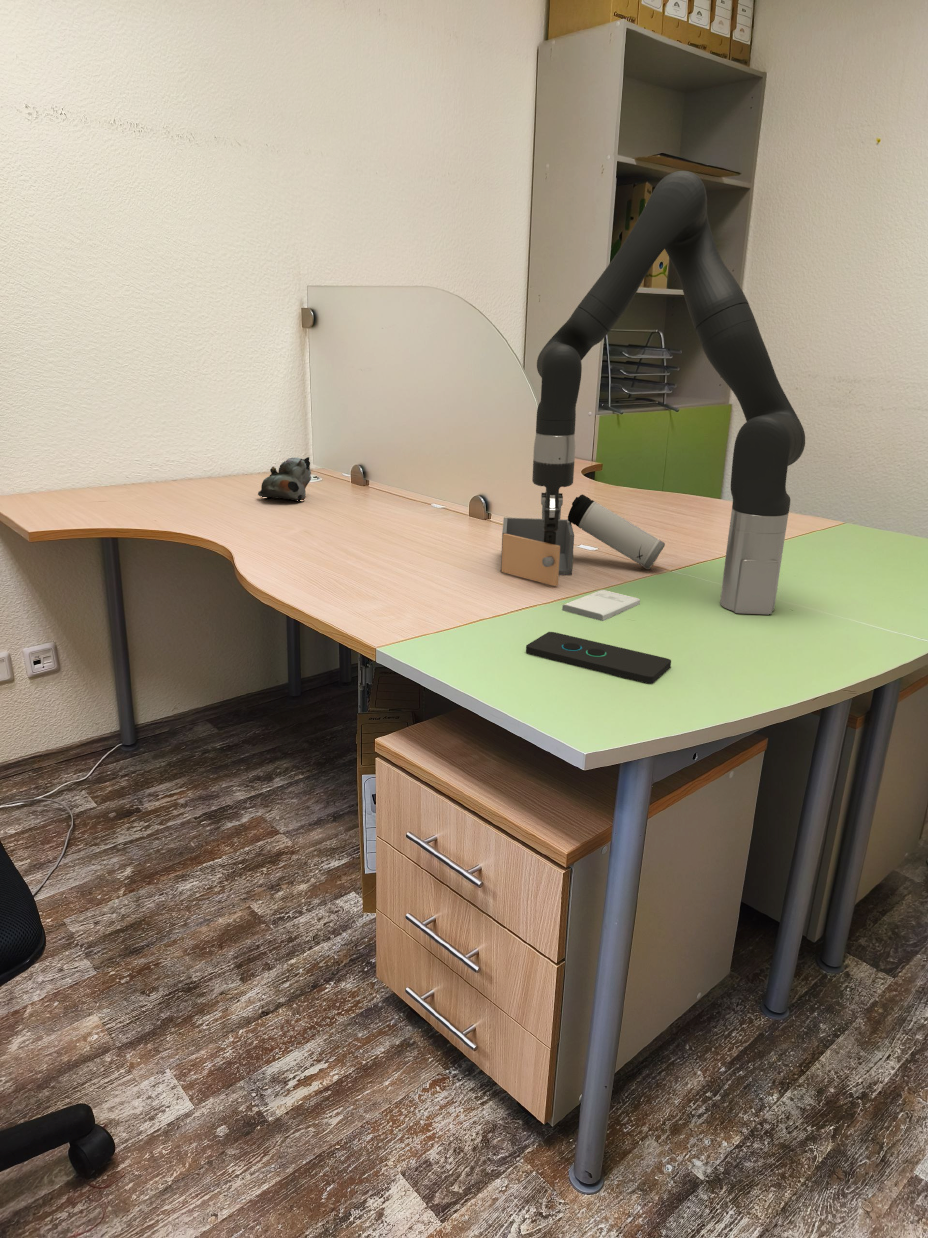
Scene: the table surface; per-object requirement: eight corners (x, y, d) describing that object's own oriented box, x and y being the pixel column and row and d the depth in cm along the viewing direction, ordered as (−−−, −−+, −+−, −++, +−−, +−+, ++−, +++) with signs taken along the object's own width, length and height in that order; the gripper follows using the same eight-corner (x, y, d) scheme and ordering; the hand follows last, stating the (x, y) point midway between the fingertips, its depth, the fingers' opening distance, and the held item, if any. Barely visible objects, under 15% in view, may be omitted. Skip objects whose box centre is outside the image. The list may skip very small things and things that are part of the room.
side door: (550, 587, 155) (553, 547, 152) (496, 573, 163) (498, 535, 161) (557, 585, 156) (560, 545, 154) (504, 570, 165) (505, 533, 162)
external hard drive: (561, 612, 144) (600, 596, 153) (602, 623, 139) (639, 606, 148) (562, 603, 143) (600, 588, 152) (603, 614, 138) (640, 597, 147)
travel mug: (651, 563, 164) (566, 511, 168) (646, 573, 170) (563, 523, 174) (668, 538, 165) (582, 487, 169) (662, 549, 172) (580, 500, 175)
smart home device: (549, 629, 131) (673, 658, 120) (549, 640, 131) (671, 669, 121) (524, 645, 124) (651, 677, 114) (523, 656, 125) (650, 688, 114)
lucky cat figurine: (254, 496, 231) (270, 450, 232) (295, 512, 236) (310, 466, 237) (262, 490, 217) (279, 440, 218) (306, 507, 222) (322, 458, 223)
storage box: (571, 574, 164) (574, 535, 162) (500, 572, 165) (502, 532, 163) (568, 556, 178) (570, 519, 175) (502, 554, 178) (503, 517, 176)
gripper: (576, 465, 146) (570, 560, 152) (572, 453, 158) (567, 541, 164) (533, 464, 146) (529, 559, 152) (533, 452, 158) (529, 540, 165)
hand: (549, 549), depth 158 cm, fingers closed
